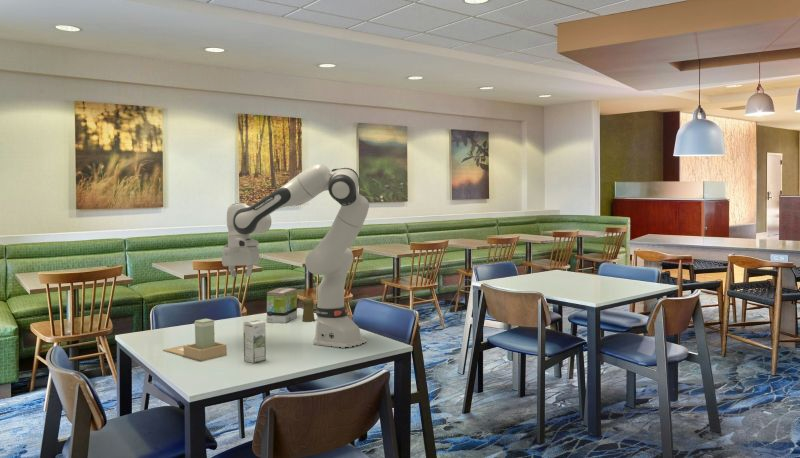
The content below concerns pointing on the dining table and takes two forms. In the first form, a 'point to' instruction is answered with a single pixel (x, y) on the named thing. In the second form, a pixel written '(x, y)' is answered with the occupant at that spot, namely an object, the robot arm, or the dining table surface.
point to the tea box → (281, 305)
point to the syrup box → (254, 341)
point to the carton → (204, 334)
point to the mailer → (199, 351)
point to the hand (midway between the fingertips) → (241, 276)
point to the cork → (308, 310)
